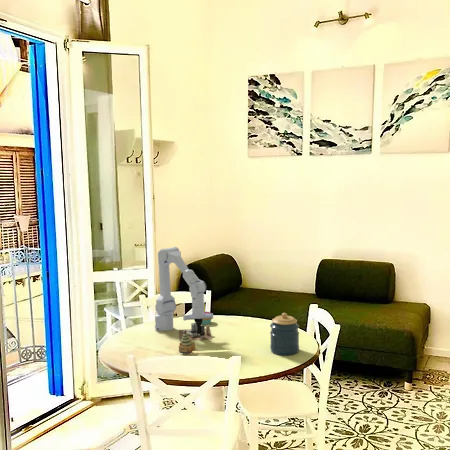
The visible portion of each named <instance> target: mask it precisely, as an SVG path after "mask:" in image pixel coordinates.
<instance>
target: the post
mask: <svg viewBox="0 0 450 450" xmlns="http://www.w3.org/2000/svg"><path fill="white" fill-rule="evenodd" d="M190 325H191V326H190V327H191V328H190V329H191V332H192V333H197V332H196V329H197V325H196V323H195V322H192V323H190Z"/></svg>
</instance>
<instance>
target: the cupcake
mask: <svg viewBox="0 0 450 450" xmlns="http://www.w3.org/2000/svg"><path fill="white" fill-rule="evenodd" d="M205 304H206V303H204V314H213V313H212V312H211V311H206V305H205ZM213 319H214V317H213V318H206V319H202V320H203V322H202V324H201V325H210V324H211V321H212V320H213Z"/></svg>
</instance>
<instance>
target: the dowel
mask: <svg viewBox="0 0 450 450" xmlns="http://www.w3.org/2000/svg"><path fill="white" fill-rule="evenodd" d="M205 328H206V335H210V334H209V328H210V325H209V324H206V326H205Z"/></svg>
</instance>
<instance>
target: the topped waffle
mask: <svg viewBox="0 0 450 450" xmlns="http://www.w3.org/2000/svg"><path fill="white" fill-rule="evenodd" d="M194 350H196V343H195V340H192V339H191V337H189V336H188V334H187V333H186V331H185V332H184V334H183V336H182V339H181V341H179V345H178V352H179V353H180V354H186V355H188V354H191V353H192V352H193V351H194Z"/></svg>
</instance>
